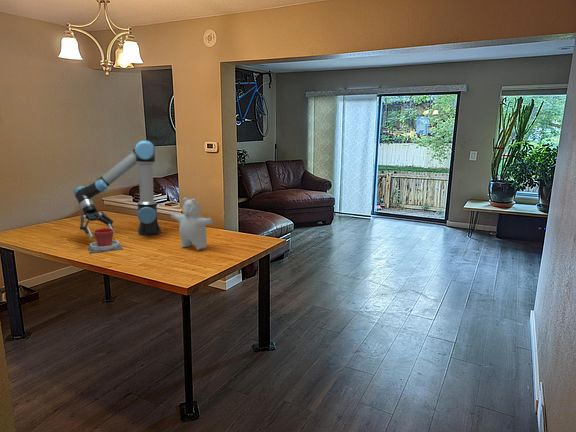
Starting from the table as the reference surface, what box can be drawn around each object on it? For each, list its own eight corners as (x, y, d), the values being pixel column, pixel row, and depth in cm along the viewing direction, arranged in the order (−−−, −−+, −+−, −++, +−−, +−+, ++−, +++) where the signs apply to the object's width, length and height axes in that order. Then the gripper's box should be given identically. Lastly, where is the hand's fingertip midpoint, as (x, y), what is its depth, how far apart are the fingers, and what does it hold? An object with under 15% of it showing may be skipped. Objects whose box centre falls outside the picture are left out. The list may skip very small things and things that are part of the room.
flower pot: (118, 244, 248) (117, 229, 246) (102, 249, 238) (101, 233, 236) (107, 242, 253) (106, 227, 251) (91, 246, 244) (90, 230, 242)
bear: (163, 246, 251) (160, 196, 245) (180, 241, 263) (178, 193, 257) (205, 255, 234) (204, 202, 227) (221, 249, 246) (220, 198, 240)
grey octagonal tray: (118, 242, 258) (118, 238, 257) (123, 249, 243) (122, 245, 242) (87, 245, 249) (87, 241, 248) (90, 253, 234) (89, 249, 233)
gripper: (105, 208, 263) (119, 234, 257) (66, 214, 243) (80, 242, 237) (109, 201, 258) (123, 228, 252) (69, 207, 239) (83, 235, 233)
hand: (102, 235), depth 245 cm, fingers open, 13 cm apart
